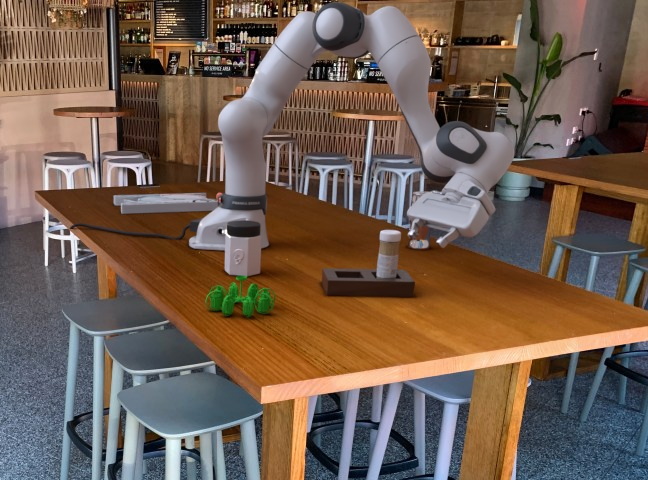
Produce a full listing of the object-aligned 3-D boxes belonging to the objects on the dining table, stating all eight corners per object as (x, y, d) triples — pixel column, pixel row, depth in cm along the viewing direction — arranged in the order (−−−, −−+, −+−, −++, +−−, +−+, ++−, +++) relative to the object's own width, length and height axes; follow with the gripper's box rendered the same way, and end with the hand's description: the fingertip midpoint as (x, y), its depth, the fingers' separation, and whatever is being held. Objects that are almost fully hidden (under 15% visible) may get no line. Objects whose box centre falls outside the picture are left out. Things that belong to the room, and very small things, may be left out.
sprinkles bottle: (386, 286, 183) (392, 228, 178) (399, 291, 179) (405, 232, 174) (370, 288, 181) (376, 230, 176) (383, 293, 178) (389, 234, 172)
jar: (220, 274, 192) (221, 225, 187) (228, 267, 199) (230, 219, 195) (256, 277, 189) (258, 227, 185) (263, 269, 197) (265, 221, 192)
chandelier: (255, 324, 156) (256, 290, 154) (191, 312, 163) (191, 279, 161) (288, 306, 168) (290, 274, 165) (227, 295, 175) (227, 264, 173)
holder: (413, 297, 175) (415, 281, 174) (326, 295, 176) (328, 280, 174) (403, 284, 185) (404, 269, 184) (321, 282, 186) (322, 268, 184)
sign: (220, 210, 273) (206, 200, 291) (220, 201, 272) (206, 192, 290) (121, 213, 266) (113, 203, 284) (121, 204, 264) (113, 195, 282)
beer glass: (432, 251, 218) (439, 195, 212) (406, 249, 219) (412, 194, 213) (430, 245, 224) (437, 191, 218) (405, 244, 225) (411, 190, 219)
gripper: (424, 180, 189) (388, 224, 189) (490, 192, 173) (450, 241, 172) (435, 197, 193) (400, 241, 192) (501, 211, 176) (463, 259, 176)
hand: (424, 241), depth 182 cm, fingers open, 8 cm apart
